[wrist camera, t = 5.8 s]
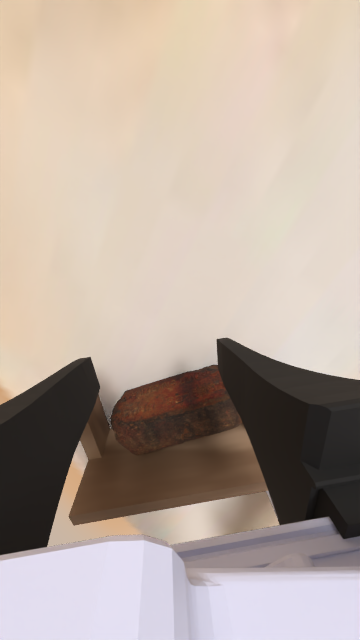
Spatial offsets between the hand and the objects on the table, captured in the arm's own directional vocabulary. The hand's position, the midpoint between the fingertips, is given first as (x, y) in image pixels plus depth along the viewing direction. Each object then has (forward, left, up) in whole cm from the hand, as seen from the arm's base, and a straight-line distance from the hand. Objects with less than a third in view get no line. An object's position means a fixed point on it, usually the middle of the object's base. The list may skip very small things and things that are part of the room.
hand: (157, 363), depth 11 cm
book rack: (-8, 0, -6) cm, 10 cm away
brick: (-8, 0, -7) cm, 10 cm away
